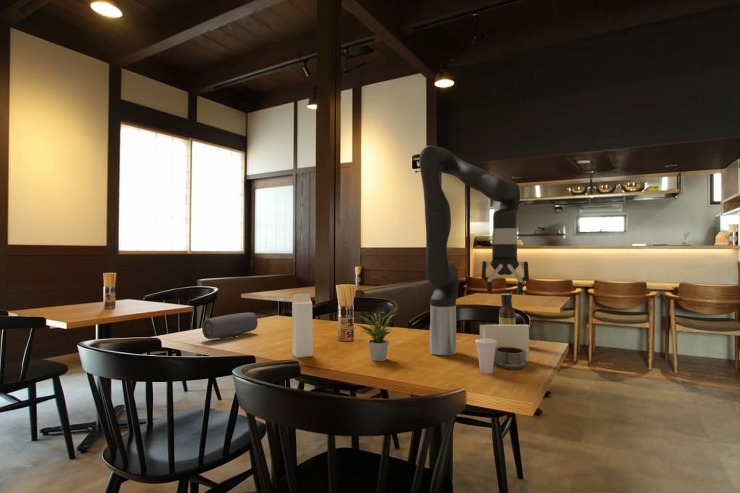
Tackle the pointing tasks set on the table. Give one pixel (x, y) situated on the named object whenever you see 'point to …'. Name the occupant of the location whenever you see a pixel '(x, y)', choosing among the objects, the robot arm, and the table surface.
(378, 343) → the house plant
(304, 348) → the milk
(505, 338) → the mounting board
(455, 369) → the table surface
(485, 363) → the smoothie
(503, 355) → the cup bracket
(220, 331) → the bluetooth speaker
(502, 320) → the sauce bottle
